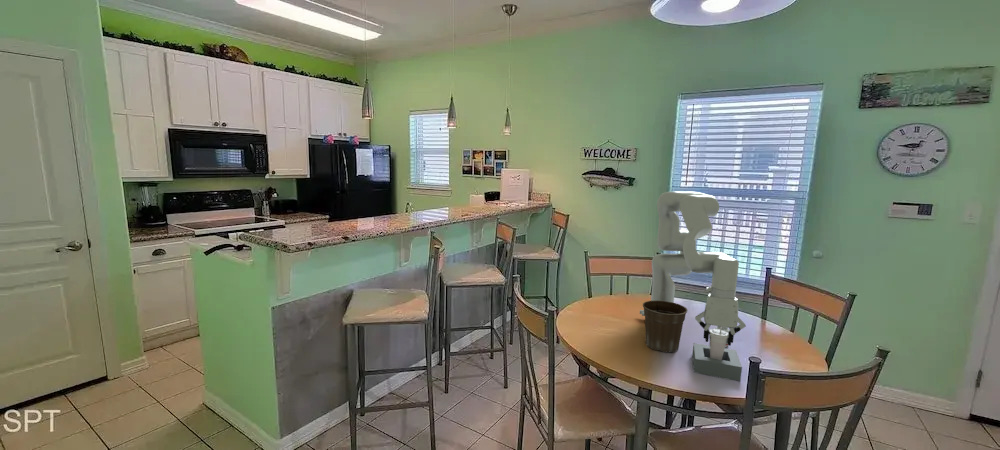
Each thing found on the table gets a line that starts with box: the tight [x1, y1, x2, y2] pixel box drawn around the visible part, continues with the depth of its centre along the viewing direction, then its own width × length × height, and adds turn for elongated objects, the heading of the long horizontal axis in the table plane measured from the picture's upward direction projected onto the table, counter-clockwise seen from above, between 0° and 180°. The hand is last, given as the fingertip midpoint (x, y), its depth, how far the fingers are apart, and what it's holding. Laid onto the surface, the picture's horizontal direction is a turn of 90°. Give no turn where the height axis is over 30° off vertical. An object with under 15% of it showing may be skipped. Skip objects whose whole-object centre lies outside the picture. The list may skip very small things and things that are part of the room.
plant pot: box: [642, 300, 688, 353], centre depth 163 cm, size 16×16×16 cm
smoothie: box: [709, 326, 729, 360], centre depth 146 cm, size 6×6×14 cm
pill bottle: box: [714, 326, 730, 348], centre depth 166 cm, size 5×5×9 cm
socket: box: [691, 342, 743, 382], centre depth 147 cm, size 14×14×5 cm
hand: (717, 341), depth 146 cm, fingers closed on smoothie, 6 cm apart
